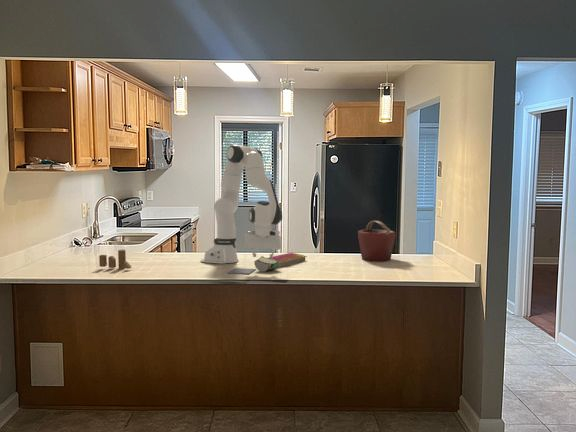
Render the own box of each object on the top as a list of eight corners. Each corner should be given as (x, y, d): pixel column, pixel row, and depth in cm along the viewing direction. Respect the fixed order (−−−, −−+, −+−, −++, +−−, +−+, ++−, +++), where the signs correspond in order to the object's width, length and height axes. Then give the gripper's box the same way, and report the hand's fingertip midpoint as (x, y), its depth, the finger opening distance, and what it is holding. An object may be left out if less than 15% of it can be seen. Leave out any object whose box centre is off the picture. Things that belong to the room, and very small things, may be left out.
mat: (227, 273, 294) (227, 272, 294) (234, 269, 308) (234, 268, 308) (248, 274, 292) (248, 273, 292) (255, 270, 305) (255, 268, 305)
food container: (270, 276, 297) (280, 271, 305) (270, 265, 296) (280, 260, 304) (251, 271, 303) (261, 265, 312) (252, 260, 302) (262, 255, 310)
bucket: (398, 264, 329) (399, 222, 327) (361, 264, 327) (362, 222, 325) (387, 258, 353) (388, 219, 351) (353, 258, 352) (354, 219, 350)
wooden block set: (98, 270, 301) (97, 252, 300) (104, 266, 310) (104, 248, 308) (129, 271, 300) (129, 253, 298) (135, 267, 308) (135, 249, 306)
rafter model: (275, 270, 308) (275, 259, 308) (254, 267, 316) (254, 257, 315) (307, 262, 338) (307, 252, 337) (287, 259, 345) (287, 250, 345)
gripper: (242, 231, 295) (242, 257, 296) (280, 232, 291) (279, 258, 292) (246, 230, 301) (246, 255, 302) (282, 231, 297) (282, 257, 298)
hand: (263, 257), depth 297 cm, fingers open, 8 cm apart
